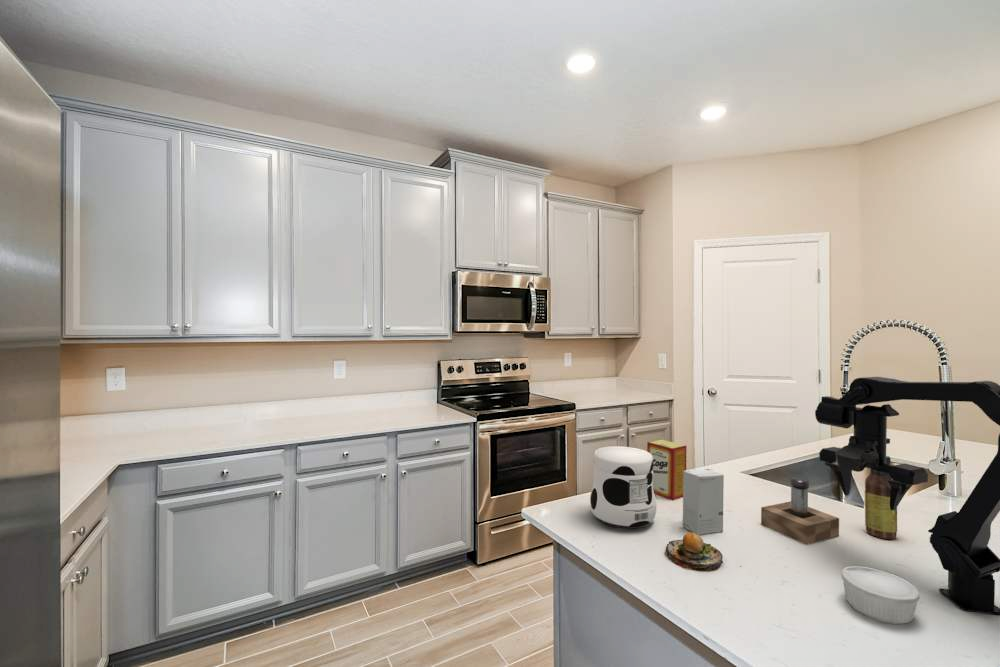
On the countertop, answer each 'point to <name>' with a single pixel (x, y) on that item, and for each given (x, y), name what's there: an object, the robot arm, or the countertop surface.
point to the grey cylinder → (799, 497)
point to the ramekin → (880, 594)
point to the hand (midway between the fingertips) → (868, 502)
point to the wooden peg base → (800, 523)
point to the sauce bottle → (879, 506)
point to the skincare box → (703, 501)
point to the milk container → (623, 487)
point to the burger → (694, 553)
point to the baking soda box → (668, 468)
